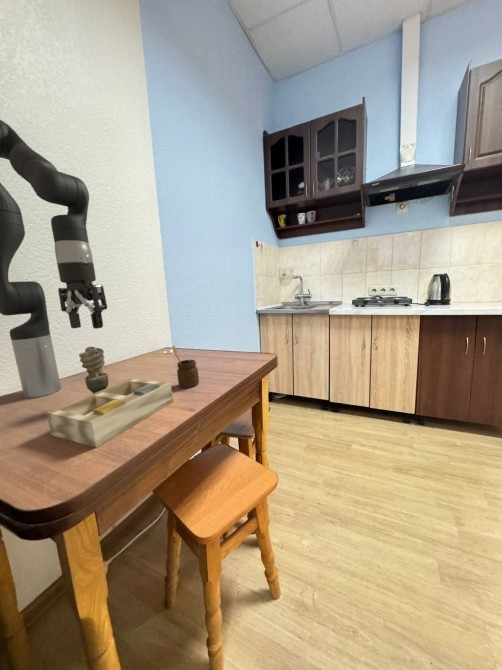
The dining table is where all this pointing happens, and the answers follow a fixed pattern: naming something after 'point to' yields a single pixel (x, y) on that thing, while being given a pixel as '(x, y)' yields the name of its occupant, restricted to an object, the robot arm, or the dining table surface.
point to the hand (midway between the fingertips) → (87, 328)
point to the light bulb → (94, 369)
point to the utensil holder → (187, 371)
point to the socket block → (109, 411)
